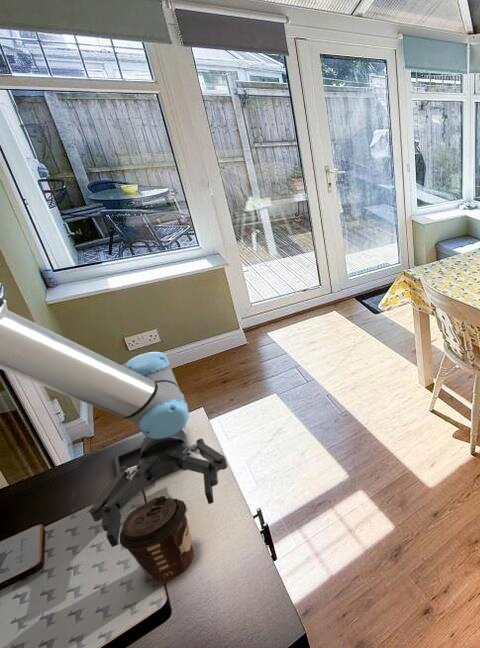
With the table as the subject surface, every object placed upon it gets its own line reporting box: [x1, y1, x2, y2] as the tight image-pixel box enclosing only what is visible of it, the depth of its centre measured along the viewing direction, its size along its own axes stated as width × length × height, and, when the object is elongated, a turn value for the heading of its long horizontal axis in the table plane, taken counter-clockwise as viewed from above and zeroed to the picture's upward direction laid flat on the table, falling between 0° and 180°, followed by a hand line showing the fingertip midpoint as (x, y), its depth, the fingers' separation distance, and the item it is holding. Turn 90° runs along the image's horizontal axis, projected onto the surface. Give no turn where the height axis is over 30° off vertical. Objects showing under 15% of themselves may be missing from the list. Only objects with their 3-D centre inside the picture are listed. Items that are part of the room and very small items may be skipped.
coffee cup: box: [119, 495, 195, 585], centre depth 70 cm, size 9×8×13 cm
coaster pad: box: [113, 445, 180, 484], centre depth 91 cm, size 12×12×2 cm
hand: (163, 518), depth 73 cm, fingers open, 13 cm apart
